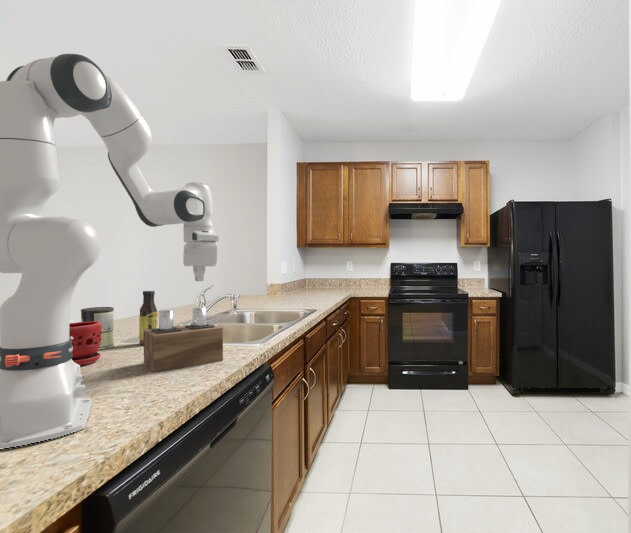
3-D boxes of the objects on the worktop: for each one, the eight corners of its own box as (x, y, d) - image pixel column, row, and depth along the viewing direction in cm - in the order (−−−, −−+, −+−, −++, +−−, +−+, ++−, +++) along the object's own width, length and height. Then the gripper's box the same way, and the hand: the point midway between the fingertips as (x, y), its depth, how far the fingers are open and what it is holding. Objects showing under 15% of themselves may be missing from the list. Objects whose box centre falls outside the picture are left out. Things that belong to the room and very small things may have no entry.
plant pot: (105, 356, 123) (105, 319, 123) (97, 366, 111) (96, 325, 111) (58, 360, 119) (57, 321, 119) (44, 371, 106) (44, 328, 106)
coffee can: (77, 351, 130) (76, 310, 130) (85, 345, 140) (85, 307, 140) (110, 349, 133) (110, 309, 133) (116, 343, 143) (116, 306, 143)
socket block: (222, 360, 116) (222, 326, 116) (154, 372, 104) (153, 334, 104) (208, 353, 126) (208, 321, 126) (143, 363, 114) (143, 328, 114)
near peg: (175, 344, 112) (175, 310, 112) (161, 346, 109) (160, 311, 109) (171, 341, 115) (171, 309, 115) (157, 343, 112) (157, 310, 112)
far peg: (208, 339, 118) (208, 307, 117) (195, 341, 115) (195, 308, 115) (203, 337, 121) (203, 306, 121) (191, 339, 118) (190, 307, 118)
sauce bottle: (150, 345, 138) (150, 291, 138) (135, 345, 139) (134, 291, 139) (161, 342, 144) (160, 290, 144) (146, 341, 146) (146, 290, 146)
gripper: (178, 238, 124) (178, 280, 124) (199, 234, 108) (200, 282, 108) (197, 238, 128) (197, 279, 128) (221, 235, 112) (221, 281, 112)
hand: (199, 281), depth 118 cm, fingers closed
